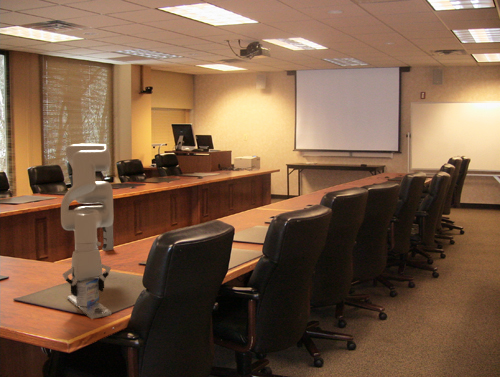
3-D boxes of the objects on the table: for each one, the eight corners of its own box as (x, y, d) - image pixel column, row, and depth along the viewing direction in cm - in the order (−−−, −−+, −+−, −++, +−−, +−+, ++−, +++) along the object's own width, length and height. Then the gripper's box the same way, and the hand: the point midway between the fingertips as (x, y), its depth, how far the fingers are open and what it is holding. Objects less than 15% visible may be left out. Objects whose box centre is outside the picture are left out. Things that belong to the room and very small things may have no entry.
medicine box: (86, 307, 184) (86, 283, 183) (76, 306, 185) (75, 282, 184) (99, 300, 192) (98, 277, 191) (89, 299, 193) (88, 276, 192)
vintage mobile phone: (102, 249, 284) (100, 204, 282) (110, 248, 288) (108, 204, 285) (105, 251, 282) (104, 205, 279) (113, 249, 285) (112, 204, 283)
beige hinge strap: (67, 299, 197) (67, 294, 197) (85, 295, 201) (85, 291, 201) (91, 319, 175) (91, 313, 175) (111, 314, 179) (111, 309, 179)
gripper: (105, 242, 194) (107, 286, 196) (58, 248, 184) (60, 294, 186) (113, 245, 188) (114, 291, 190) (65, 251, 178) (66, 300, 180)
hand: (87, 293), depth 188 cm, fingers open, 9 cm apart
